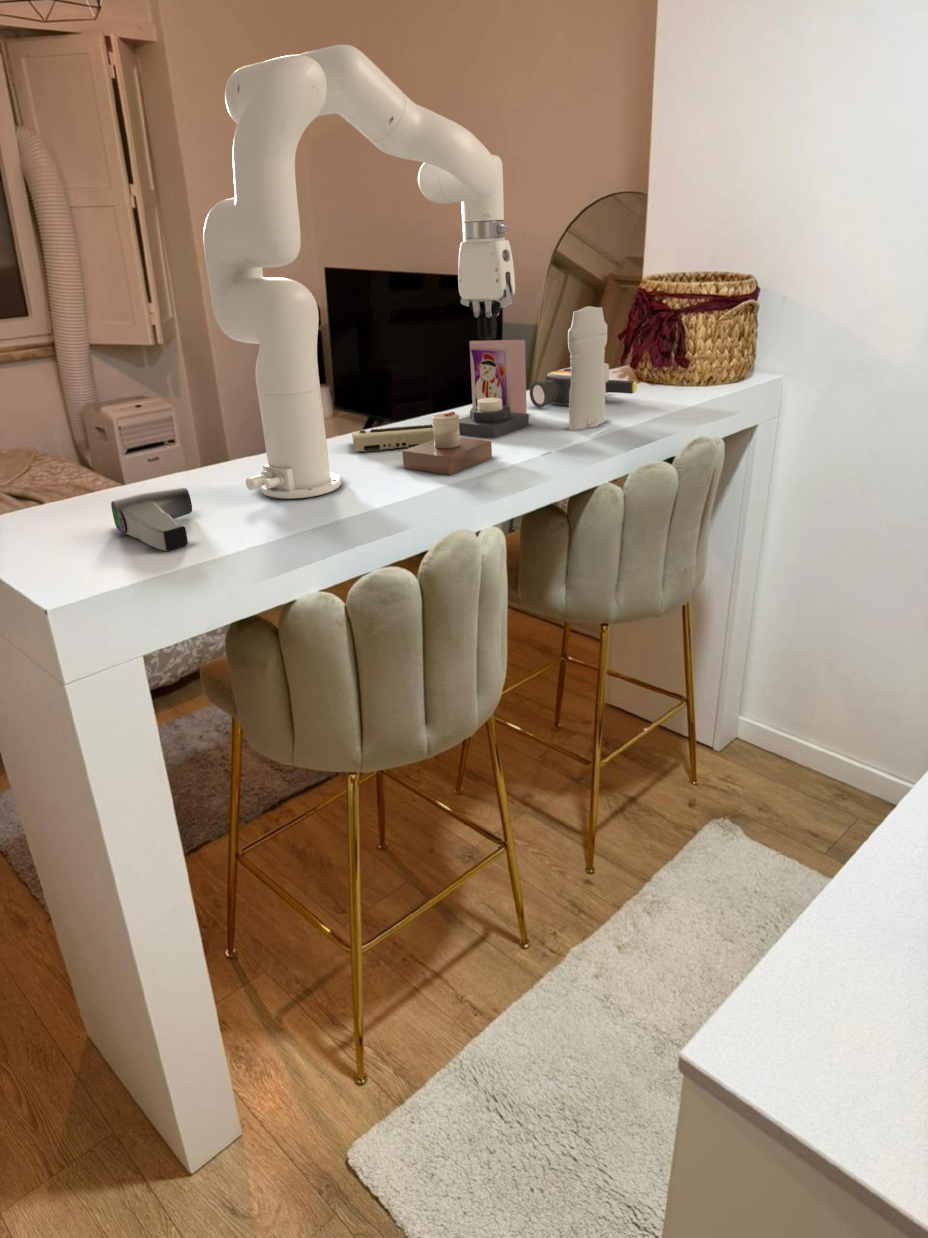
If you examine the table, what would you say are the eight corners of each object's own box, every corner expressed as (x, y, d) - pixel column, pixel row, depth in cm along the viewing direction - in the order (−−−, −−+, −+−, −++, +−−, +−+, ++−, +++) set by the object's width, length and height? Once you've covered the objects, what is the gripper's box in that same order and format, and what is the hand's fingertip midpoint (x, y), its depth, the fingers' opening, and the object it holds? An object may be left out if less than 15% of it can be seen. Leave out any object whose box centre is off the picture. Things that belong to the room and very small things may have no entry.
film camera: (574, 420, 181) (528, 408, 192) (642, 400, 190) (594, 390, 201) (573, 386, 178) (526, 375, 189) (642, 367, 187) (594, 359, 198)
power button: (493, 414, 169) (492, 403, 168) (472, 411, 172) (472, 401, 171) (507, 409, 172) (506, 398, 172) (487, 407, 175) (486, 396, 174)
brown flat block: (450, 475, 145) (449, 457, 144) (403, 467, 151) (402, 450, 149) (492, 458, 153) (491, 440, 152) (446, 451, 159) (445, 435, 158)
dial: (449, 449, 148) (447, 417, 146) (429, 446, 150) (427, 415, 148) (465, 443, 151) (463, 412, 149) (445, 441, 154) (443, 410, 151)
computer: (434, 436, 170) (433, 418, 169) (440, 445, 163) (439, 428, 162) (353, 443, 169) (351, 425, 167) (355, 453, 161) (353, 435, 160)
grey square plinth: (494, 438, 167) (493, 417, 165) (452, 433, 172) (450, 412, 170) (528, 425, 175) (528, 404, 173) (487, 420, 181) (486, 400, 179)
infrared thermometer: (159, 560, 117) (109, 530, 127) (239, 535, 125) (186, 509, 134) (154, 528, 115) (102, 499, 125) (235, 504, 123) (181, 480, 132)
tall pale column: (576, 431, 168) (577, 309, 159) (560, 429, 171) (560, 308, 162) (613, 421, 174) (615, 303, 165) (597, 419, 177) (598, 302, 168)
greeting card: (469, 415, 186) (466, 341, 180) (495, 409, 190) (492, 336, 184) (508, 422, 178) (505, 345, 172) (533, 415, 183) (532, 340, 176)
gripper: (530, 230, 157) (532, 337, 165) (462, 232, 166) (467, 334, 173) (506, 232, 152) (509, 343, 160) (437, 234, 160) (443, 340, 168)
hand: (487, 338), depth 166 cm, fingers closed
